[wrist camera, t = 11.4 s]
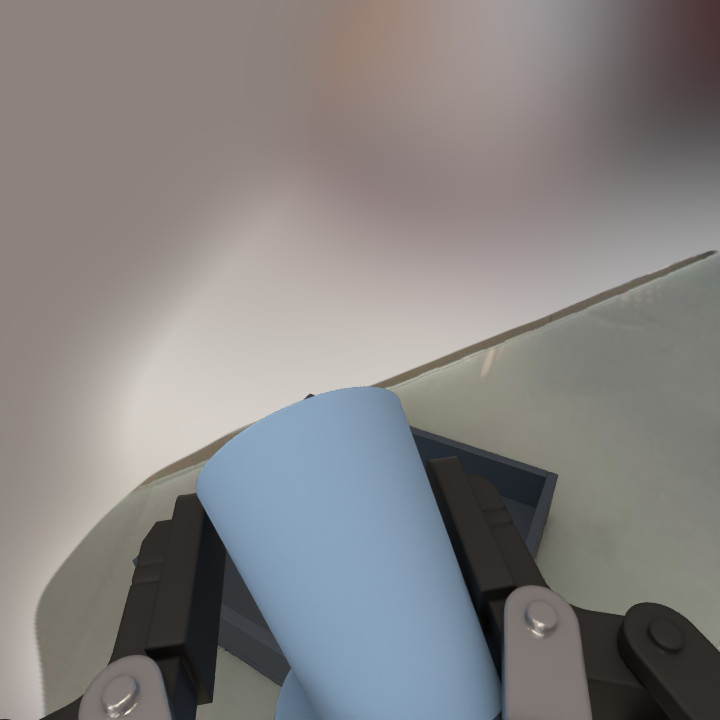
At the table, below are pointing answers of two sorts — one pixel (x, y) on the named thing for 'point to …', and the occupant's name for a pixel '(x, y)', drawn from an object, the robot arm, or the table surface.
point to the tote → (511, 478)
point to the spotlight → (351, 563)
